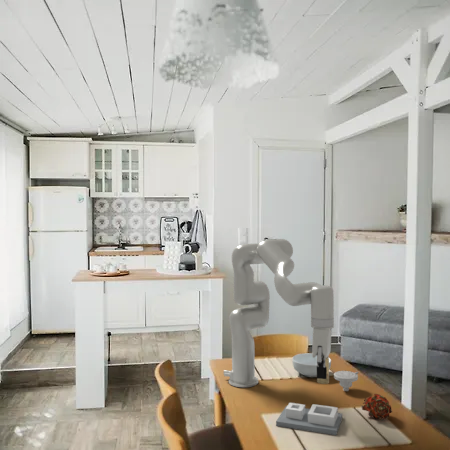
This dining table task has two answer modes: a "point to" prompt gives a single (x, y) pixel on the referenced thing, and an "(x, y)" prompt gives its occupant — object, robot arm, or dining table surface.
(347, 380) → the showerhead
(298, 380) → the dining table surface
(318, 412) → the socket board
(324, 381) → the gold rounded cylinder
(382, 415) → the dragon fruit
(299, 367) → the cereal bowl
